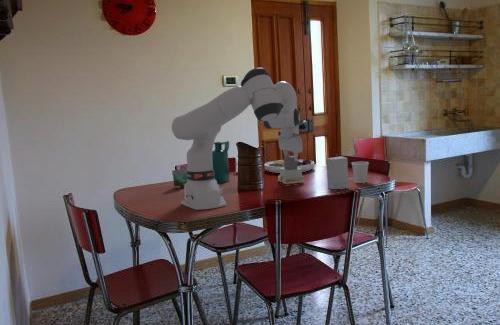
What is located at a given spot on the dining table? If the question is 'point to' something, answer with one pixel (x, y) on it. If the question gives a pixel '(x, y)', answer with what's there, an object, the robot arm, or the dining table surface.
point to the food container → (180, 177)
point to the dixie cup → (360, 171)
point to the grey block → (290, 163)
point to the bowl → (276, 165)
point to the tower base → (290, 179)
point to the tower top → (290, 173)
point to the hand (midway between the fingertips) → (291, 159)
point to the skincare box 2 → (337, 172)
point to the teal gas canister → (221, 162)
